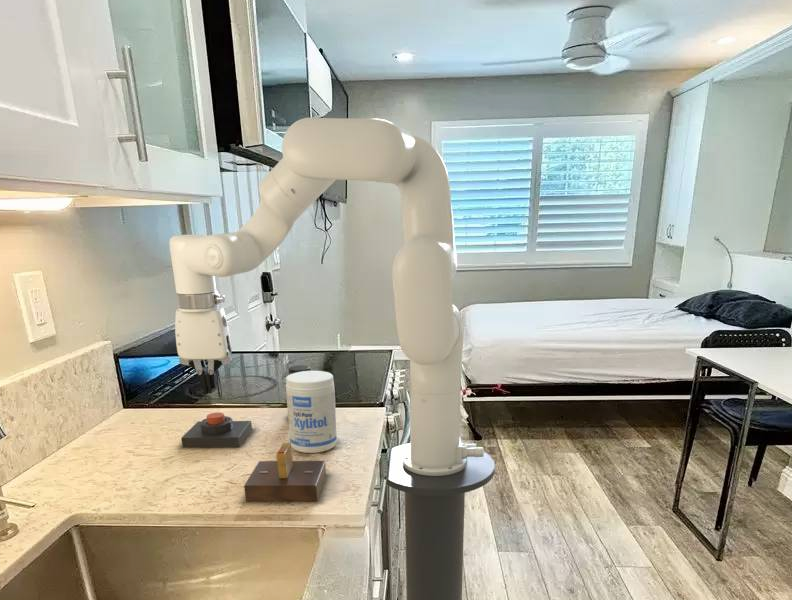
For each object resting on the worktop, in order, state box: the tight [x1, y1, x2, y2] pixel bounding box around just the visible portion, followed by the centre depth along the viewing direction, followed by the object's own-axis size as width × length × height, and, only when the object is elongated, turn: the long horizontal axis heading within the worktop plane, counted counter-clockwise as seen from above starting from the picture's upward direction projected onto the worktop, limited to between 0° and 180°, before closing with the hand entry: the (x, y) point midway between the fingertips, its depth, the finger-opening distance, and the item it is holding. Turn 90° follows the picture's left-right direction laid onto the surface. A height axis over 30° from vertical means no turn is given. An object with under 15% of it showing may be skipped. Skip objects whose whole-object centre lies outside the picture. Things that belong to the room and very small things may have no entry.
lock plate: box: [243, 460, 327, 503], centre depth 99 cm, size 12×10×3 cm
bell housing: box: [180, 415, 253, 449], centre depth 122 cm, size 12×10×4 cm
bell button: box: [206, 412, 225, 425], centre depth 121 cm, size 4×4×2 cm
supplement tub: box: [285, 370, 338, 454], centre depth 114 cm, size 10×10×15 cm
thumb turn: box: [276, 442, 294, 478], centre depth 97 cm, size 5×1×5 cm, turn 177°
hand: (210, 391), depth 119 cm, fingers closed
